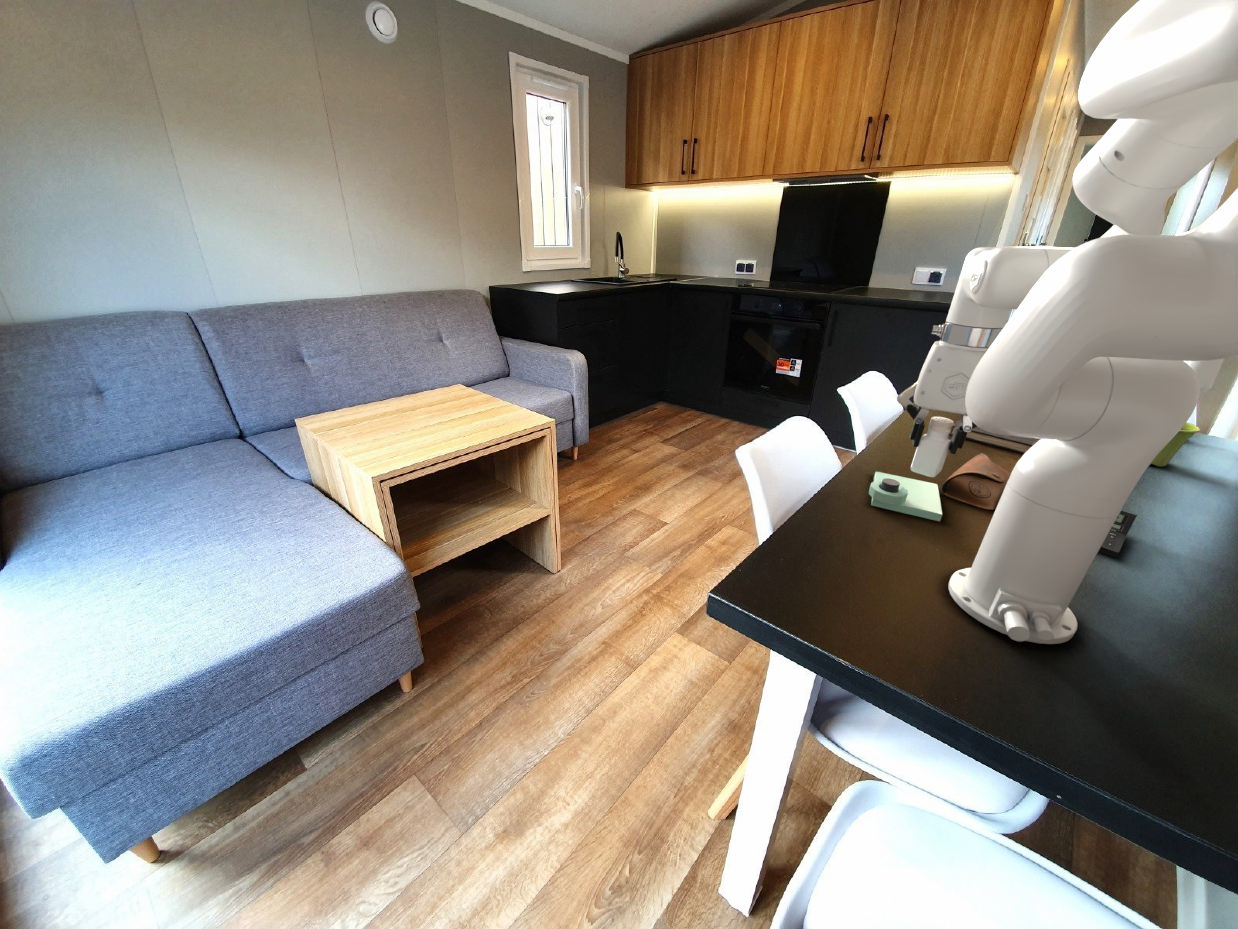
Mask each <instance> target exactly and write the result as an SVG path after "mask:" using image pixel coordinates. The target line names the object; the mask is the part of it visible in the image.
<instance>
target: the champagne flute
mask: <svg viewBox="0 0 1238 929" xmlns="http://www.w3.org/2000/svg"><path fill="white" fill-rule="evenodd" d="M1224 360H1225V358H1223V359H1217V360H1208V361H1184V362H1186V363H1187V364H1188V365H1189V366H1190V367H1191V368H1192V369H1193V371H1194V372H1195V374H1196V376H1197V378H1198V382H1199V388H1200V389H1199V395H1201V394H1203V393H1206V392H1207V391H1209V390H1210V389H1212V387H1213V386H1214V383H1215V381H1216V379H1217V378H1218V374H1219V372H1220V370H1221V367H1222V365H1223V363H1224Z"/></svg>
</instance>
